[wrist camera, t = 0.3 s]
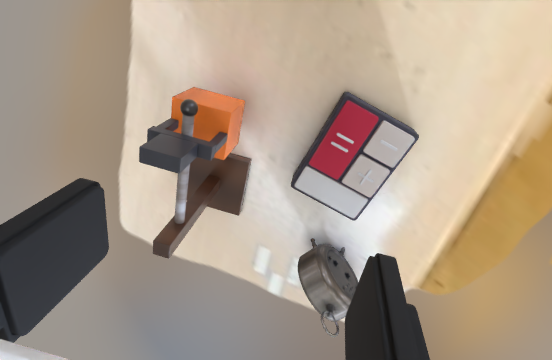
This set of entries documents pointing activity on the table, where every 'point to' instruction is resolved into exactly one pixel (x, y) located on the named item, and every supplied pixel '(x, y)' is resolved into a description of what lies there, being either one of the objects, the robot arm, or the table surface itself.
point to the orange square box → (194, 132)
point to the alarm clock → (327, 282)
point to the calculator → (353, 156)
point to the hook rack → (202, 189)
